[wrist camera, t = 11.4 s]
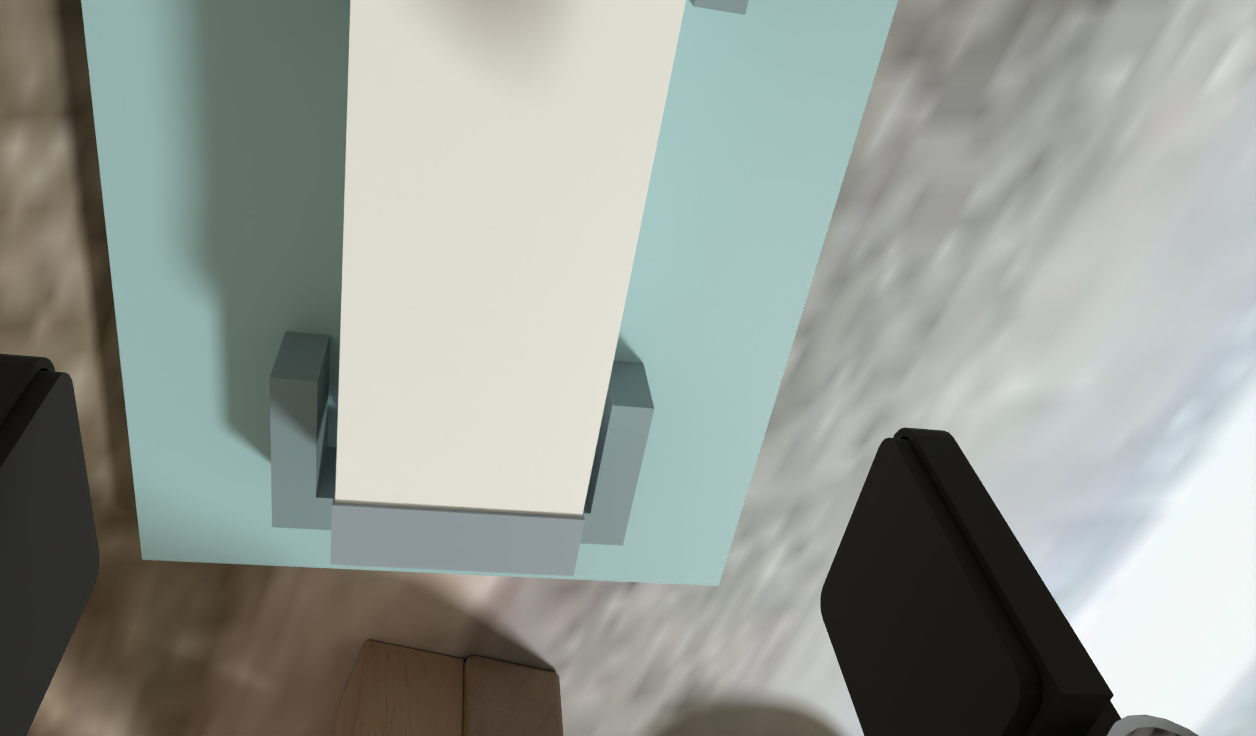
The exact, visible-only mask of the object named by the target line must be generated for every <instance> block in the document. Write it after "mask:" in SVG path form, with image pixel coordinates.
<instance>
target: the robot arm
mask: <svg viewBox="0 0 1256 736" xmlns="http://www.w3.org/2000/svg"><path fill="white" fill-rule="evenodd" d="M98 567H99V550H98V544H97V537H96V531H95V524H94V518H93V511H92V505H91V498H90V492H89V485H88V479H87V472H86V466H85V459H84V453H83V446H82V440H81V433H80V427H79V420H78V414H77V407H76V401H75V394H74V388H73V383H72V379H71V377H70V375H69V374H67V373H63V372H55V369H54V366H53V364H52V362H51V361H50V360H49V359H47V358H45V357H33V356H20V355H8V354H0V736H26V735H27V733H28V731H29V728H30V726H31V724H32V722H33V720H34V717H35V715H36V713H37V711H38V709H39V706H40V704H41V702H42V700H43V698H44V695H45V693H46V691H47V689H48V687H49V684H50V682H51V680H52V678H53V676H54V674H55V671H56V669H57V667H58V665H59V663H60V660H61V658H62V656H63V654H64V652H65V649H66V647H67V645H68V643H69V641H70V638H71V636H72V634H73V632H74V630H75V627H76V625H77V623H78V621H79V619H80V616H81V614H82V612H83V610H84V608H85V605H86V603H87V601H88V599H89V597H90V594H91V592H92V590H93V587H94V585H95V582H96V578H97V574H98ZM821 613H822V617H823V620H824V623H825V626H826V629H827V632H828V635H829V637H830V640H831V643H832V646H833V649H834V651H835V654H836V657H837V660H838V663H839V665H840V668H841V671H842V674H843V677H844V679H845V682H846V685H847V688H848V691H849V693H850V696H851V699H852V702H853V705H854V708H855V710H856V713H857V716H858V719H859V722H860V724H861V727H862V730H863V733H864V736H1198V735H1197V734H1195V733H1194V732H1192V731H1191V730H1189V729H1187V728H1185V727H1183V726H1181V725H1178V724H1176V723H1174V722H1172V721H1169V720H1167V719H1163V718H1158V717H1154V716H1149V715H1133V716H1126V717H1125V718H1123V719H1121V717H1120V716H1119V714H1118V713H1117V711H1116V709H1115V708H1114V706H1113V704H1112V703H1111V701H1110V700H1111V698H1112V697H1113V693H1112V692H1111V690H1110V688H1109V687H1108V685H1107V684H1106V682H1105V680H1104V679H1103V677H1102V676H1101V674H1100V672H1099V671H1098V669H1097V668H1096V666H1095V664H1094V663H1093V661H1092V659H1091V658H1090V656H1089V655H1088V653H1087V651H1086V650H1085V648H1084V647H1083V645H1082V643H1081V642H1080V640H1079V639H1078V637H1077V635H1076V634H1075V632H1074V631H1073V629H1072V627H1071V626H1070V624H1069V622H1068V621H1067V619H1066V618H1065V616H1064V614H1063V613H1062V611H1061V610H1060V608H1059V606H1058V605H1057V603H1056V602H1055V600H1054V598H1053V597H1052V595H1051V593H1050V592H1049V590H1048V589H1047V587H1046V585H1045V584H1044V582H1043V581H1042V579H1041V577H1040V576H1039V574H1038V573H1037V571H1036V569H1035V568H1034V566H1033V565H1032V563H1031V561H1030V560H1029V558H1028V556H1027V555H1026V553H1025V552H1024V550H1023V548H1022V547H1021V545H1020V544H1019V542H1018V540H1017V539H1016V537H1015V536H1014V534H1013V532H1012V531H1011V529H1010V528H1009V526H1008V524H1007V523H1006V521H1005V519H1004V518H1003V516H1002V515H1001V513H1000V511H999V510H998V508H997V507H996V505H995V503H994V502H993V500H992V499H991V497H990V495H989V494H988V492H987V491H986V489H985V487H984V486H983V484H982V482H981V481H980V479H979V478H978V476H977V474H976V473H975V471H974V470H973V468H972V466H971V465H970V463H969V462H968V460H967V458H966V457H965V455H964V454H963V452H962V450H961V449H960V447H959V445H958V444H957V442H956V441H955V439H954V438H953V436H952V435H951V434H950V433H948V432H946V431H940V430H928V429H916V428H902V429H900V430H899V431H898V432H897V433H895V435H894V437H893V438H886V439H884V440H883V441H882V443H881V445H880V446H879V449H878V451H877V454H876V456H875V459H874V461H873V463H872V466H871V468H870V471H869V473H868V476H867V478H866V481H865V483H864V486H863V488H862V491H861V493H860V496H859V498H858V501H857V503H856V506H855V508H854V511H853V513H852V516H851V518H850V521H849V523H848V526H847V528H846V531H845V533H844V536H843V538H842V541H841V543H840V546H839V548H838V550H837V553H836V555H835V558H834V560H833V563H832V565H831V568H830V570H829V573H828V575H827V578H826V580H825V583H824V585H823V588H822V592H821Z"/></svg>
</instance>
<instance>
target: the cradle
mask: <svg viewBox="0 0 1256 736" xmlns="http://www.w3.org/2000/svg"><path fill="white" fill-rule="evenodd" d="M897 2H898V0H686V3H685V8H684V13H683V18H682V23H681V28H680V33H679V38H678V43H677V48H676V53H675V58H674V63H673V68H672V73H671V78H670V83H669V88H668V93H667V98H666V103H665V108H664V113H663V118H662V123H661V127H660V132H659V137H658V142H657V147H656V152H655V157H654V162H653V167H652V172H651V177H650V182H649V187H648V192H647V197H646V202H645V207H644V212H643V217H642V222H641V227H640V232H639V237H638V242H637V247H636V252H635V257H634V262H633V267H632V272H631V277H630V282H629V287H628V292H627V297H626V302H625V306H624V311H623V316H622V321H621V326H620V331H619V336H618V341H617V346H616V351H615V356H614V361H613V366H612V371H611V376H610V381H609V386H608V391H607V396H606V401H605V406H604V411H603V416H602V421H601V426H600V431H599V436H598V441H597V446H596V451H595V456H594V461H593V466H592V471H591V476H590V480H589V485H588V490H587V495H586V500H585V505H584V517H585V522H584V527H583V532H582V537H581V542H580V547H579V552H578V557H577V562H576V566H575V571H574V576H559V575H538V574H517V573H496V572H475V571H454V570H433V569H412V568H391V567H370V566H349V565H330V556H331V520H332V503H333V498H334V493H335V488H336V459H337V427H338V394H339V361H340V328H341V295H342V262H343V229H344V196H345V164H346V131H347V98H348V65H349V32H350V0H81V4H82V13H83V22H84V32H85V41H86V50H87V59H88V68H89V77H90V87H91V96H92V105H93V114H94V123H95V132H96V142H97V151H98V160H99V169H100V178H101V188H102V197H103V206H104V215H105V224H106V233H107V243H108V252H109V261H110V270H111V279H112V288H113V298H114V307H115V316H116V325H117V334H118V343H119V353H120V362H121V371H122V380H123V389H124V399H125V408H126V417H127V426H128V435H129V444H130V454H131V463H132V472H133V481H134V490H135V499H136V509H137V518H138V527H139V536H140V545H141V554H142V560H158V561H180V562H202V563H224V564H246V565H269V566H291V567H313V568H335V569H357V570H379V571H401V572H423V573H445V574H467V575H489V576H511V577H534V578H556V579H578V580H600V581H622V582H644V583H666V584H688V585H710V586H719V582H720V579H721V576H722V573H723V569H724V566H725V563H726V560H727V556H728V553H729V550H730V547H731V543H732V540H733V537H734V534H735V530H736V527H737V524H738V521H739V517H740V514H741V511H742V507H743V504H744V501H745V498H746V494H747V491H748V488H749V485H750V481H751V478H752V475H753V472H754V468H755V465H756V462H757V459H758V455H759V452H760V449H761V446H762V442H763V439H764V436H765V432H766V429H767V426H768V423H769V419H770V416H771V413H772V410H773V406H774V403H775V400H776V397H777V393H778V390H779V387H780V384H781V380H782V377H783V374H784V371H785V367H786V364H787V361H788V358H789V354H790V351H791V348H792V344H793V341H794V338H795V335H796V331H797V328H798V325H799V322H800V318H801V315H802V312H803V309H804V305H805V302H806V299H807V296H808V292H809V289H810V286H811V283H812V279H813V276H814V273H815V270H816V266H817V263H818V260H819V256H820V253H821V250H822V247H823V243H824V240H825V237H826V234H827V230H828V227H829V224H830V221H831V217H832V214H833V211H834V208H835V204H836V201H837V198H838V195H839V191H840V188H841V185H842V182H843V178H844V175H845V172H846V168H847V165H848V162H849V159H850V155H851V152H852V149H853V146H854V142H855V139H856V136H857V133H858V129H859V126H860V123H861V120H862V116H863V113H864V110H865V107H866V103H867V100H868V97H869V93H870V90H871V87H872V84H873V80H874V77H875V74H876V71H877V67H878V64H879V61H880V58H881V54H882V51H883V48H884V45H885V41H886V38H887V35H888V32H889V28H890V25H891V22H892V19H893V15H894V12H895V9H896V5H897Z"/></svg>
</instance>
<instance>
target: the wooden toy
mask: <svg viewBox="0 0 1256 736" xmlns="http://www.w3.org/2000/svg"><path fill="white" fill-rule="evenodd" d="M334 736H563V725H562V711H561V697H560V683H559V676H558V674H556V673H555V672H552V671H547V670H542V669H537V668H532V667H528V666H523V665H518V664H513V663H508V662H503V661H498V660H493V659H488V658H483V657H479V656H470V657H469V658H468V659H467V660H466V662H465V664H464V660H463V659H459V658H454V657H449V656H445V655H440V654H435V653H430V652H426V651H421V650H416V649H411V648H406V647H401V646H395V645H390V644H385V643H380V642H375V641H370V640H367V641H366V643H365V645H364V647H363V649H362V651H361V654H360V656H359V658H358V661H357V663H356V665H355V668H354V670H353V672H352V675H351V677H350V679H349V682H348V684H347V687H346V689H345V691H344V694H343V696H342V698H341V701H340V704H339V707H338V713H337V719H336V725H335V731H334Z"/></svg>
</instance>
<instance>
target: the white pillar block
mask: <svg viewBox="0 0 1256 736" xmlns="http://www.w3.org/2000/svg"><path fill="white" fill-rule="evenodd" d="M685 3H686V0H350V32H349V65H348V98H347V131H346V164H345V196H344V229H343V262H342V295H341V328H340V361H339V394H338V427H337V459H336V488H335V493H334V498H333V503H332V520H331V556H330V565H349V566H370V567H391V568H412V569H433V570H454V571H475V572H496V573H517V574H538V575H559V576H574V571H575V566H576V562H577V557H578V552H579V547H580V542H581V537H582V532H583V527H584V522H585V517H584V505H585V500H586V495H587V490H588V485H589V480H590V476H591V471H592V466H593V461H594V456H595V451H596V446H597V441H598V436H599V431H600V426H601V421H602V416H603V411H604V406H605V401H606V396H607V391H608V386H609V381H610V376H611V371H612V366H613V361H614V356H615V351H616V346H617V341H618V336H619V331H620V326H621V321H622V316H623V311H624V306H625V302H626V297H627V292H628V287H629V282H630V277H631V272H632V267H633V262H634V257H635V252H636V247H637V242H638V237H639V232H640V227H641V222H642V217H643V212H644V207H645V202H646V197H647V192H648V187H649V182H650V177H651V172H652V167H653V162H654V157H655V152H656V147H657V142H658V137H659V132H660V127H661V123H662V118H663V113H664V108H665V103H666V98H667V93H668V88H669V83H670V78H671V73H672V68H673V63H674V58H675V53H676V48H677V43H678V38H679V33H680V28H681V23H682V18H683V13H684V8H685Z"/></svg>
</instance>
